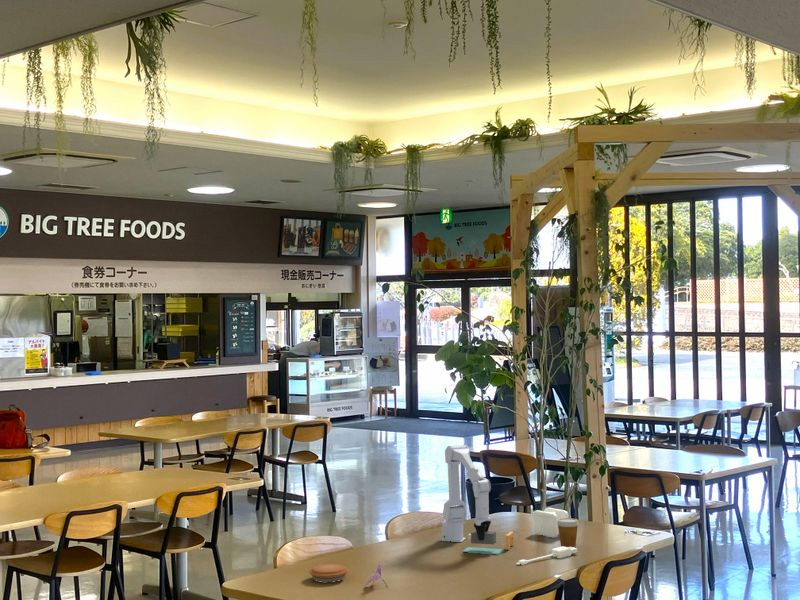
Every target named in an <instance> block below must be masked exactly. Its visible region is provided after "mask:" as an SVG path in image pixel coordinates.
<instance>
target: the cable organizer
mask: <svg viewBox="0 0 800 600" xmlns="http://www.w3.org/2000/svg"><path fill="white" fill-rule="evenodd" d="M569 516H570V514H569V512H568V511H567V510H564V509H559V508H553V507H546V508H544V510H538V509H537V510H533V511H532V514H531V518H532V532H533V533H534V534H535V535H537V536H539V535H543V536H542V537H546V538H548V537H552V538H551V539H555V538H558V537H559V529H558V524H557V522H558V519H562V518H570V517H569Z"/></svg>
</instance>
